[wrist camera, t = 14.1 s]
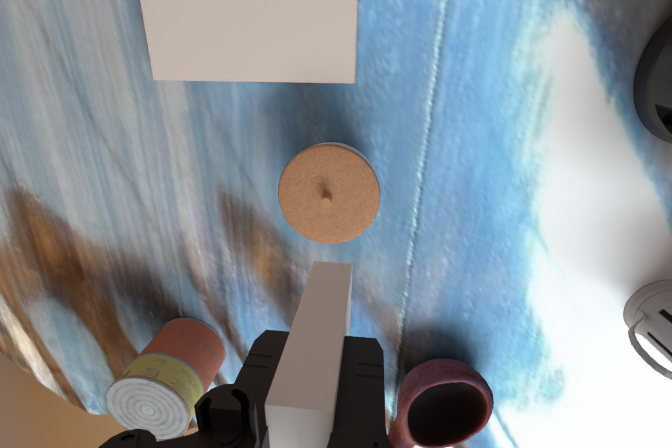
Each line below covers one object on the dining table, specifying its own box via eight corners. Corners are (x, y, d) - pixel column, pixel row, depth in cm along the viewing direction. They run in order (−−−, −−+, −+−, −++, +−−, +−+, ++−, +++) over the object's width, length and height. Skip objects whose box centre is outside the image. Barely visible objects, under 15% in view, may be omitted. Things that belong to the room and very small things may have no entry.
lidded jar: (282, 148, 42) (257, 165, 33) (366, 123, 39) (364, 133, 31) (309, 227, 45) (293, 260, 36) (388, 208, 43) (391, 238, 34)
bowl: (411, 333, 50) (417, 376, 42) (496, 356, 50) (517, 404, 42) (379, 408, 56) (380, 457, 49) (455, 429, 56) (467, 481, 49)
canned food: (154, 314, 54) (96, 373, 43) (222, 321, 53) (181, 383, 42) (165, 368, 58) (116, 435, 47) (229, 375, 57) (194, 445, 46)
